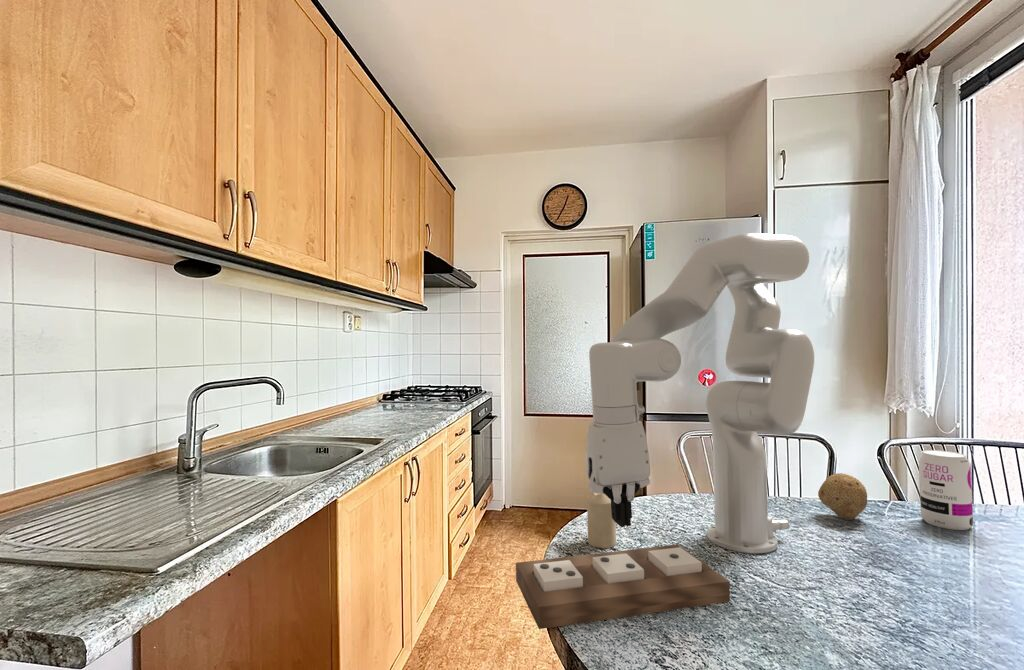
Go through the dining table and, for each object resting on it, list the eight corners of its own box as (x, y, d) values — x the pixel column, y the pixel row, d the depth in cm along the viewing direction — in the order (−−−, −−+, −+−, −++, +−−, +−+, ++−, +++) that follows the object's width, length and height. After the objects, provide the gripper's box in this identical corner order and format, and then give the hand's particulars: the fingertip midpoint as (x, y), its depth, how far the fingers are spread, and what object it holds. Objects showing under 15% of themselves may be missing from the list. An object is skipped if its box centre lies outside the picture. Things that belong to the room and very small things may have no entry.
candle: (616, 549, 91) (615, 496, 91) (587, 547, 92) (586, 495, 92) (615, 538, 96) (614, 488, 96) (588, 536, 97) (587, 487, 97)
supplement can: (967, 521, 103) (964, 451, 103) (978, 534, 96) (974, 459, 96) (918, 515, 107) (915, 448, 107) (925, 526, 100) (922, 455, 100)
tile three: (569, 578, 77) (569, 558, 77) (583, 597, 71) (582, 576, 71) (533, 583, 75) (533, 563, 75) (544, 602, 69) (544, 580, 70)
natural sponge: (812, 517, 106) (810, 472, 106) (828, 509, 111) (827, 466, 112) (860, 529, 99) (858, 481, 99) (875, 520, 104) (873, 474, 104)
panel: (678, 561, 85) (677, 544, 85) (730, 601, 72) (729, 581, 72) (516, 581, 79) (515, 562, 79) (538, 629, 65) (538, 607, 65)
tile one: (680, 565, 81) (680, 546, 81) (702, 581, 75) (701, 561, 75) (648, 569, 80) (648, 550, 80) (667, 586, 74) (667, 565, 74)
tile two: (626, 571, 79) (626, 552, 79) (644, 589, 73) (643, 568, 73) (592, 575, 77) (592, 556, 78) (608, 594, 72) (607, 573, 72)
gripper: (644, 408, 85) (650, 509, 85) (566, 416, 82) (572, 522, 82) (667, 413, 78) (674, 525, 78) (582, 423, 75) (589, 539, 74)
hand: (622, 523), depth 80 cm, fingers closed
